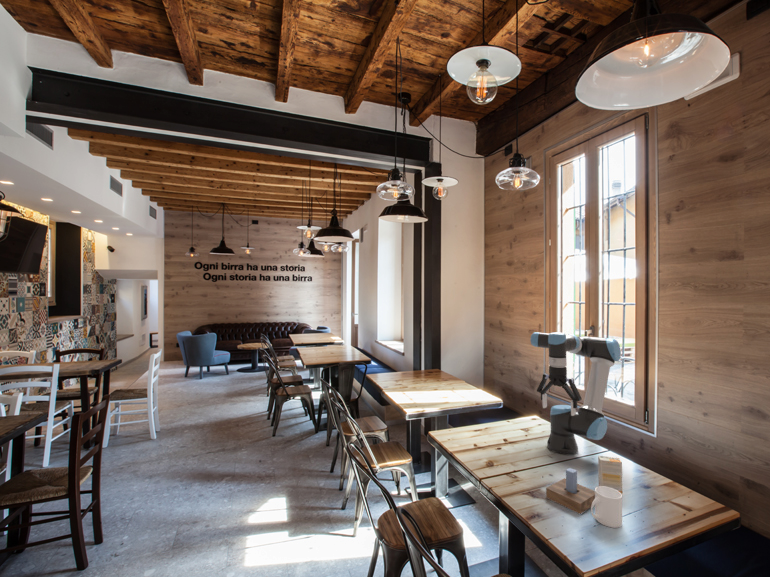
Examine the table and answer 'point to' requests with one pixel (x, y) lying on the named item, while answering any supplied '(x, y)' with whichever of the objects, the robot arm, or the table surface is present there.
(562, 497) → the socket block
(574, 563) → the table surface
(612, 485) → the supplement box
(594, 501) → the mug
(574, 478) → the peg
